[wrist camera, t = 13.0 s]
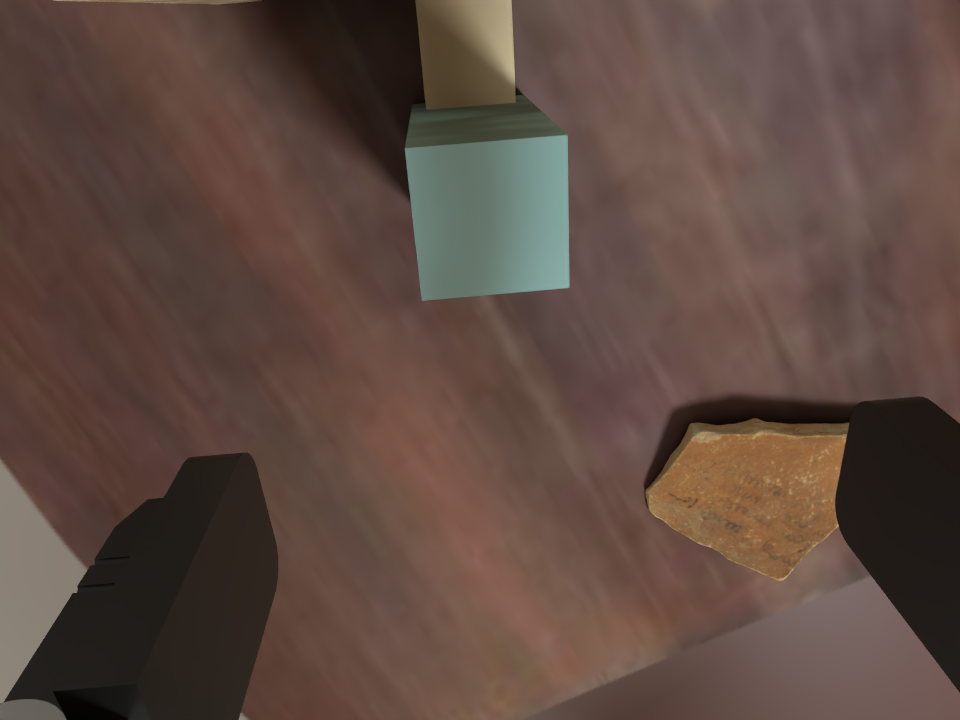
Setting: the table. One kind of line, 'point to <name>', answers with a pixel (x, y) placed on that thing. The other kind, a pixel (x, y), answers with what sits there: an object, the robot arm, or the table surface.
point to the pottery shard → (753, 490)
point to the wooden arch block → (173, 1)
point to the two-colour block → (482, 162)
